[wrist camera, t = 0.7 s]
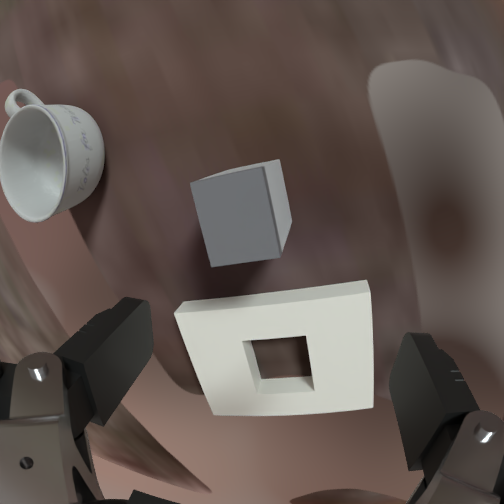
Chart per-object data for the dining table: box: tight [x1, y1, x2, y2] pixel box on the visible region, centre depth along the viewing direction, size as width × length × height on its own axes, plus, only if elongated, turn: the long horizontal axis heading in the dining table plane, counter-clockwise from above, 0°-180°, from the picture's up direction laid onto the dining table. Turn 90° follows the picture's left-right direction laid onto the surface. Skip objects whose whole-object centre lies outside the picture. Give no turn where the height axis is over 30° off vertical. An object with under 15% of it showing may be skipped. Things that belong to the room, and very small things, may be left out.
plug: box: [190, 159, 292, 267], centre depth 23 cm, size 4×5×9 cm
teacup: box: [0, 89, 105, 222], centre depth 25 cm, size 14×11×8 cm
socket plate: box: [174, 280, 374, 416], centre depth 31 cm, size 18×14×2 cm
